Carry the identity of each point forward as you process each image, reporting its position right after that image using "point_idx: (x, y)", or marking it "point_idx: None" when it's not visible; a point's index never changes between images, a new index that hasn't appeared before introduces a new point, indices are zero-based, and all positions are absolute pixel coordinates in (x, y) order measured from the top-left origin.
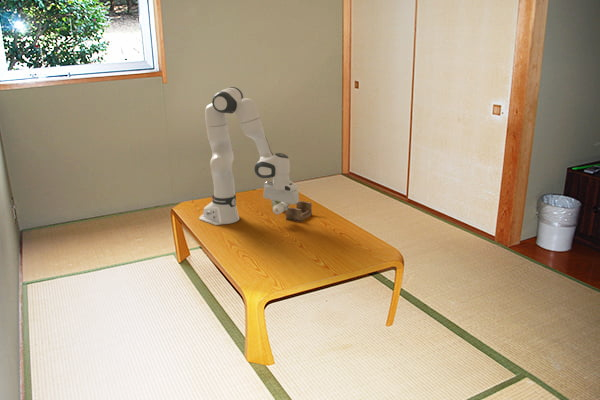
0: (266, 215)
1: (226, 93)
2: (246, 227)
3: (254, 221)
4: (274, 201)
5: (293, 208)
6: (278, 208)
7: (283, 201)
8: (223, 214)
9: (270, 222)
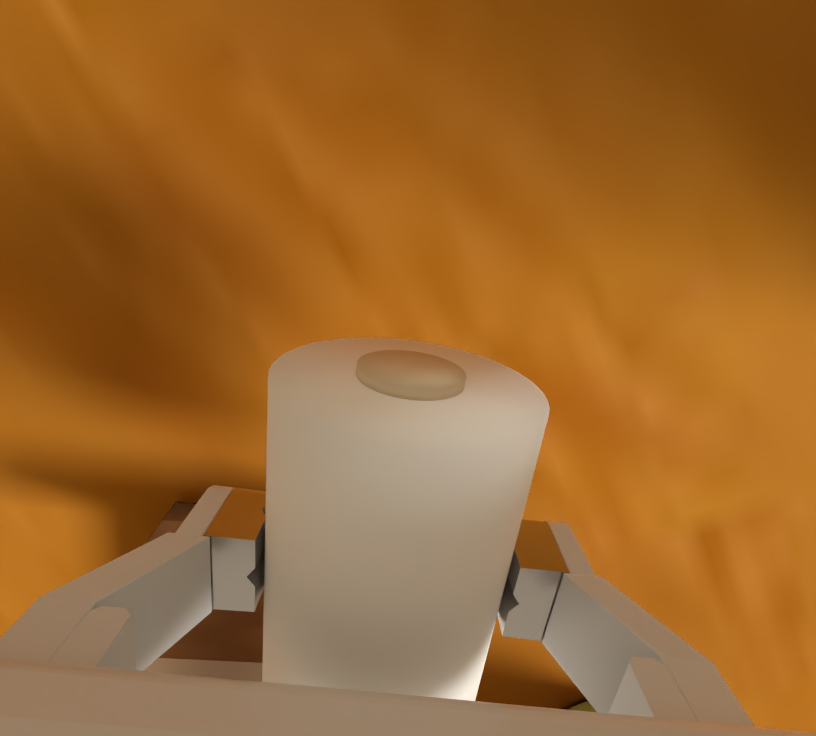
0: (656, 549)
1: None
2: None
3: (757, 336)
4: (617, 694)
5: (224, 674)
6: (341, 392)
7: (108, 713)
8: None
9: (535, 375)
